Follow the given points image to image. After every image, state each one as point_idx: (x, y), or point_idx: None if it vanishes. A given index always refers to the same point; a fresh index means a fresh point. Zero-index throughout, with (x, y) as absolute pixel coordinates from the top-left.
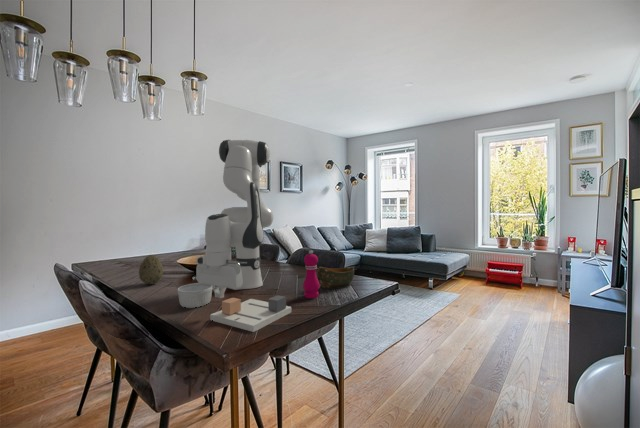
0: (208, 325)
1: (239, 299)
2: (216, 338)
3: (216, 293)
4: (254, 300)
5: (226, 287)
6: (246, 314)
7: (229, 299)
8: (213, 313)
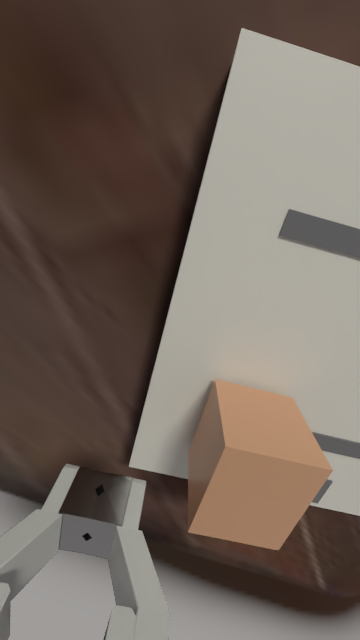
0: (169, 482)
1: (322, 477)
2: (275, 551)
3: (69, 543)
4: (308, 94)
5: (169, 624)
6: (351, 431)
7: (225, 491)
8: (136, 454)
